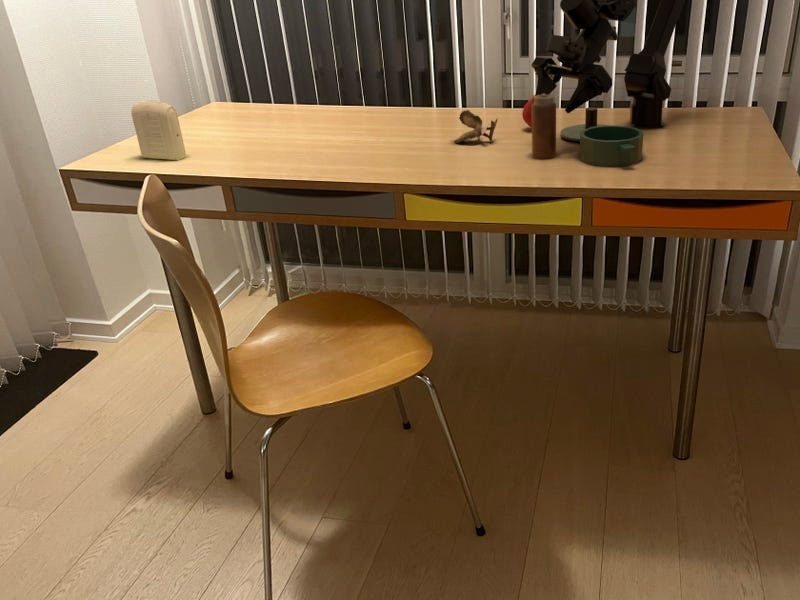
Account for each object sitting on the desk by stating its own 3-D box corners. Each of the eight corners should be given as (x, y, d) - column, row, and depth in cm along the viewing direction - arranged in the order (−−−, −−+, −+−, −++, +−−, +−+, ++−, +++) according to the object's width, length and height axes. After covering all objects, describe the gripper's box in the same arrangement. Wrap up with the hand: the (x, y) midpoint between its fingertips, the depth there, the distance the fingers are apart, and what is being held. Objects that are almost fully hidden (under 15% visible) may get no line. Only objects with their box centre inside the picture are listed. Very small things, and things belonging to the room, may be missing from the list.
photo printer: (189, 155, 181) (177, 99, 174) (178, 161, 177) (164, 104, 171) (151, 153, 183) (137, 98, 177) (139, 159, 180) (124, 102, 174)
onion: (547, 126, 190) (547, 91, 186) (547, 132, 185) (547, 97, 181) (523, 126, 190) (522, 92, 186) (522, 133, 185) (521, 97, 181)
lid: (607, 126, 187) (607, 99, 184) (631, 140, 176) (632, 112, 173) (552, 132, 185) (552, 105, 182) (573, 147, 173) (573, 118, 170)
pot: (620, 143, 174) (622, 120, 172) (658, 165, 159) (659, 140, 157) (566, 149, 172) (566, 126, 169) (598, 173, 157) (599, 147, 154)
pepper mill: (554, 151, 171) (555, 90, 165) (556, 158, 167) (557, 95, 160) (531, 152, 171) (530, 91, 165) (532, 159, 167) (532, 96, 160)
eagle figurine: (497, 130, 183) (459, 123, 184) (498, 108, 177) (459, 100, 178) (489, 156, 180) (451, 148, 181) (489, 134, 174) (450, 126, 175)
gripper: (537, 14, 166) (499, 78, 166) (605, 21, 153) (563, 90, 153) (563, 49, 174) (527, 110, 174) (630, 59, 162) (590, 124, 161)
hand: (550, 108), depth 165 cm, fingers open, 9 cm apart
